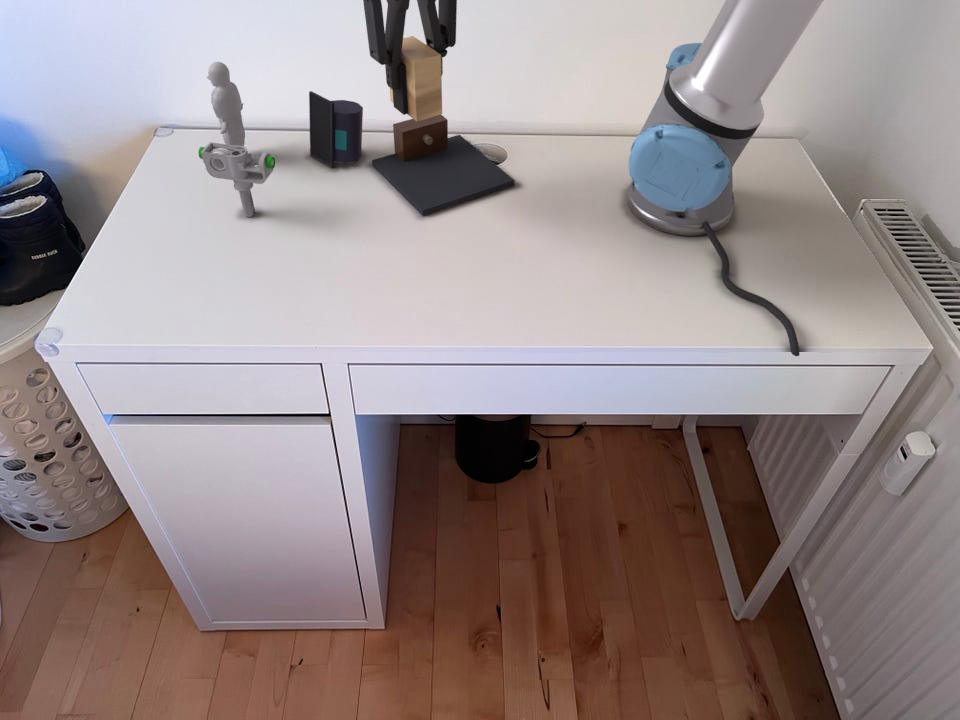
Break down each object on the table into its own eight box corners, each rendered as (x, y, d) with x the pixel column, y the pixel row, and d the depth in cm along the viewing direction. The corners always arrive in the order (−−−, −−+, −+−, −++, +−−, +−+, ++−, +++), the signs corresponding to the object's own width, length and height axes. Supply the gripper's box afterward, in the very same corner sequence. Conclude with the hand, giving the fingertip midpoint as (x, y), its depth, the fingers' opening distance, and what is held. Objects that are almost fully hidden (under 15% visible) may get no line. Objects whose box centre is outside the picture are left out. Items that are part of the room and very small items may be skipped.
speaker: (321, 172, 114) (318, 106, 108) (309, 156, 118) (306, 91, 111) (368, 165, 117) (368, 101, 111) (355, 150, 121) (354, 87, 114)
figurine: (236, 140, 121) (214, 48, 110) (259, 142, 121) (240, 50, 110) (215, 171, 114) (190, 75, 103) (240, 173, 114) (218, 77, 103)
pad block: (442, 114, 100) (441, 54, 94) (416, 121, 98) (413, 61, 92) (415, 93, 104) (412, 35, 98) (390, 101, 102) (386, 42, 96)
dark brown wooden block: (451, 152, 118) (451, 122, 114) (407, 165, 115) (406, 135, 111) (438, 140, 120) (438, 111, 117) (394, 153, 117) (392, 123, 114)
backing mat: (514, 185, 113) (514, 180, 113) (422, 216, 107) (422, 210, 106) (459, 140, 123) (459, 134, 122) (372, 165, 116) (371, 159, 116)
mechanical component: (279, 224, 105) (267, 161, 98) (211, 214, 106) (194, 151, 99) (287, 213, 107) (276, 150, 100) (220, 203, 108) (204, 140, 101)
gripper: (452, -108, 90) (454, 80, 106) (323, -88, 83) (346, 110, 99) (488, -93, 85) (483, 101, 102) (355, -71, 78) (373, 134, 95)
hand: (416, 105), depth 101 cm, fingers closed on pad block, 4 cm apart
